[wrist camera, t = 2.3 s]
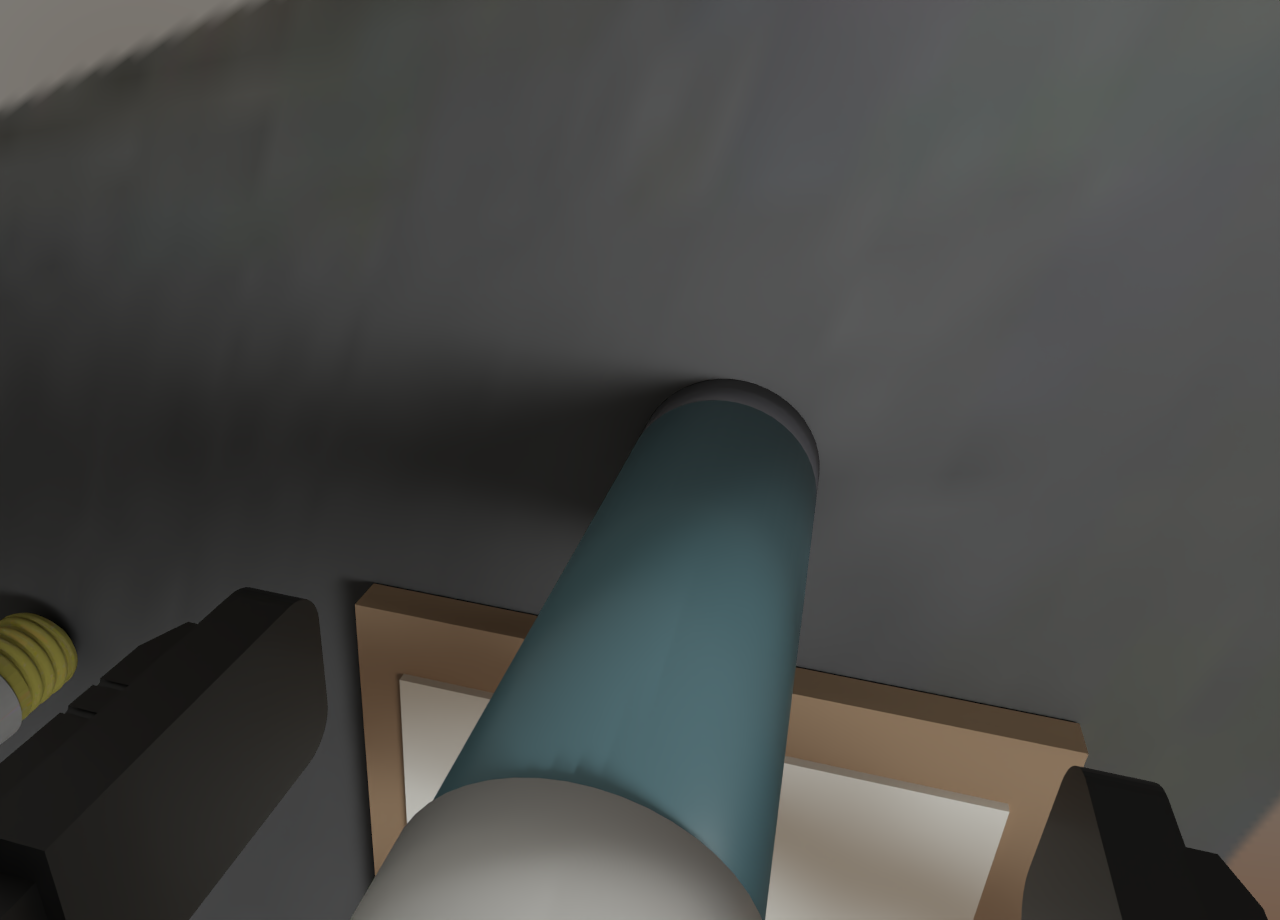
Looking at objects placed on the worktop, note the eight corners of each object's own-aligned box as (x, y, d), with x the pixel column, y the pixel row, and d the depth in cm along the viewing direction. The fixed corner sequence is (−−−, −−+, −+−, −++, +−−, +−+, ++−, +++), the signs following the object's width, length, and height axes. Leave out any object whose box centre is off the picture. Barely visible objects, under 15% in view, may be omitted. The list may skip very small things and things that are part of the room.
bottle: (722, 580, 17) (532, 1274, 8) (596, 451, 17) (223, 1025, 7) (866, 478, 16) (856, 1182, 6) (734, 334, 15) (496, 858, 6)
